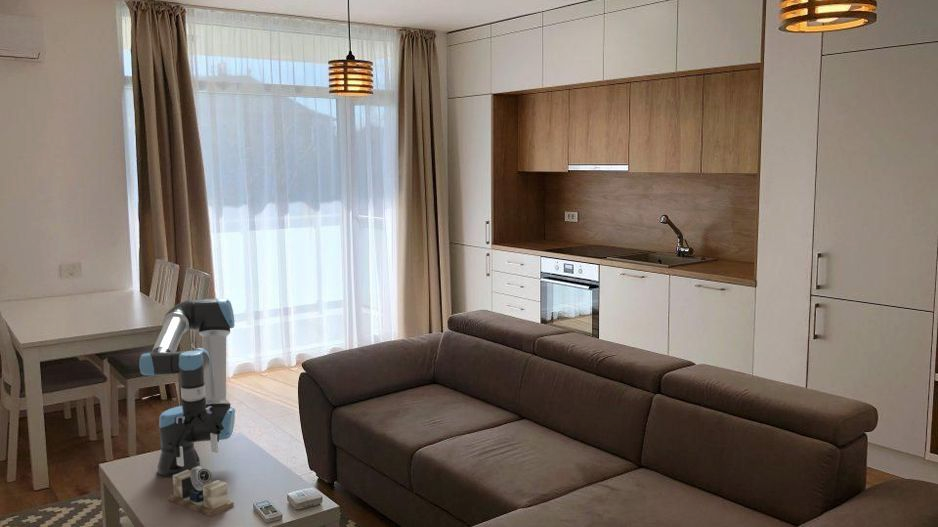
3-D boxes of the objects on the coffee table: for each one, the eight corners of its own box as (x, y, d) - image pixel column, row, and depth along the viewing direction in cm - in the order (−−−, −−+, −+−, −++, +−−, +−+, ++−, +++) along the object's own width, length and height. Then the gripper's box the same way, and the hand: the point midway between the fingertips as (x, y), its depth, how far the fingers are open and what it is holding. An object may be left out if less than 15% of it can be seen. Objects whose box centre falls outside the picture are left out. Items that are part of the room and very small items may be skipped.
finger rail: (168, 499, 267) (167, 476, 266) (191, 490, 275) (189, 467, 273) (211, 516, 254) (209, 491, 253) (233, 506, 262) (232, 482, 260)
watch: (200, 504, 260) (198, 472, 258) (187, 498, 265) (184, 467, 263) (215, 498, 264) (213, 467, 263) (201, 492, 269) (199, 462, 268)
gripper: (167, 410, 247) (172, 474, 250) (231, 389, 267) (235, 448, 271) (153, 406, 251) (158, 468, 255) (217, 386, 272) (221, 444, 275)
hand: (198, 458), depth 263 cm, fingers open, 13 cm apart
